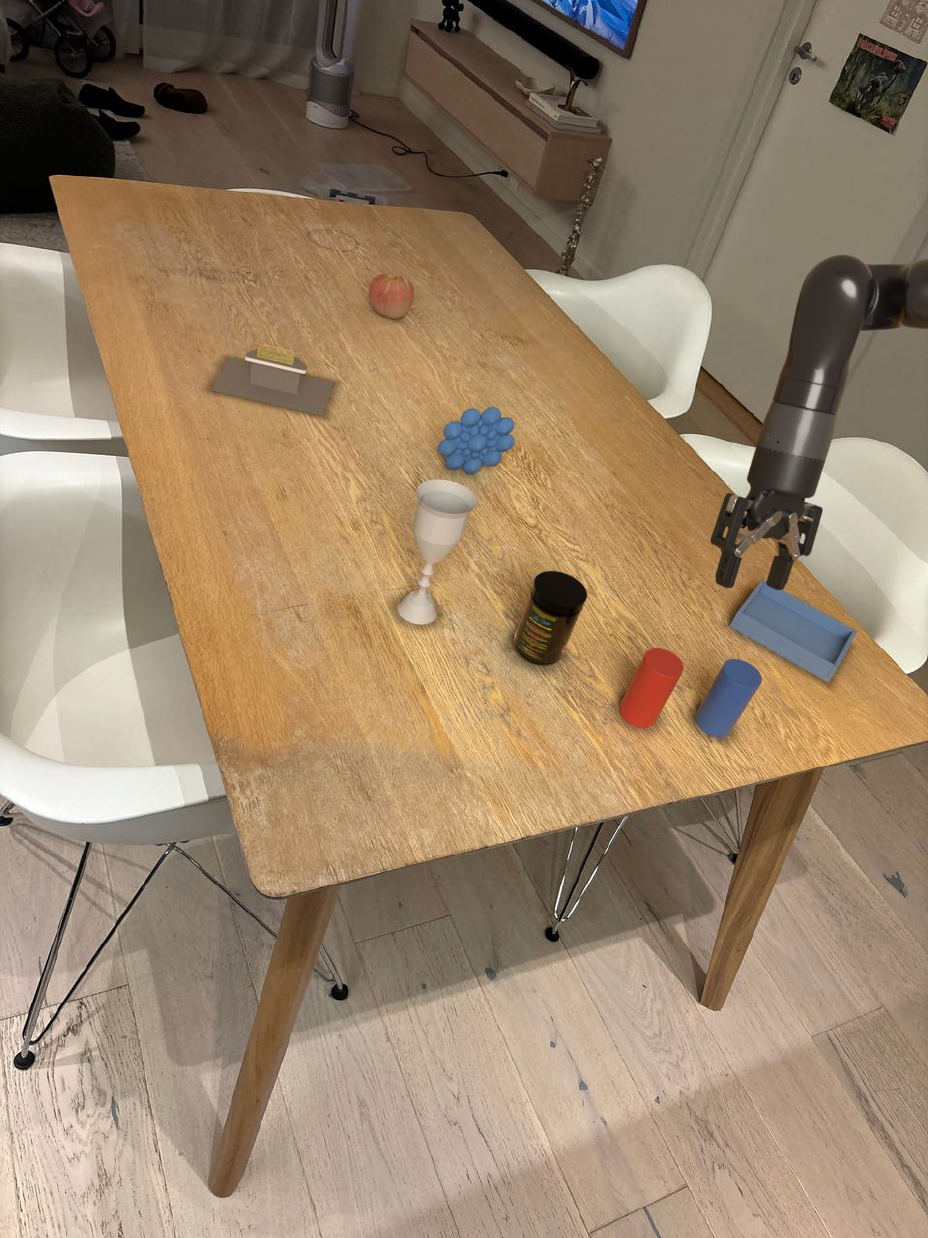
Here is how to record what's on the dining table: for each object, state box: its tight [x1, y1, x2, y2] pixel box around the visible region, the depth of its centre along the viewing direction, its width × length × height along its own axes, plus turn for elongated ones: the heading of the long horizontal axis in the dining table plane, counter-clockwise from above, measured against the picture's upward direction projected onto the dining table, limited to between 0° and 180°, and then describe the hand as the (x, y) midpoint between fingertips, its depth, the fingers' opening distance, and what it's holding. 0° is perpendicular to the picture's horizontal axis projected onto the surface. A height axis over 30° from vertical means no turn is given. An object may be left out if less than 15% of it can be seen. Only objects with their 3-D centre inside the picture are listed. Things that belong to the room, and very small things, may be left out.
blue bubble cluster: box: [437, 406, 515, 475], centre depth 143 cm, size 12×7×12 cm, turn 96°
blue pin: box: [694, 658, 763, 738], centre depth 112 cm, size 5×5×9 cm
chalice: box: [397, 479, 478, 625], centre depth 112 cm, size 7×7×18 cm
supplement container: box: [512, 570, 588, 667], centre depth 114 cm, size 7×7×10 cm
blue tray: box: [729, 578, 858, 684], centre depth 132 cm, size 15×11×3 cm
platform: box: [210, 343, 335, 417], centre depth 150 cm, size 12×18×7 cm, turn 87°
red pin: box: [618, 647, 685, 729], centre depth 110 cm, size 5×5×9 cm
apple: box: [368, 272, 415, 320], centre depth 181 cm, size 9×9×8 cm
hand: (749, 587), depth 106 cm, fingers open, 8 cm apart
